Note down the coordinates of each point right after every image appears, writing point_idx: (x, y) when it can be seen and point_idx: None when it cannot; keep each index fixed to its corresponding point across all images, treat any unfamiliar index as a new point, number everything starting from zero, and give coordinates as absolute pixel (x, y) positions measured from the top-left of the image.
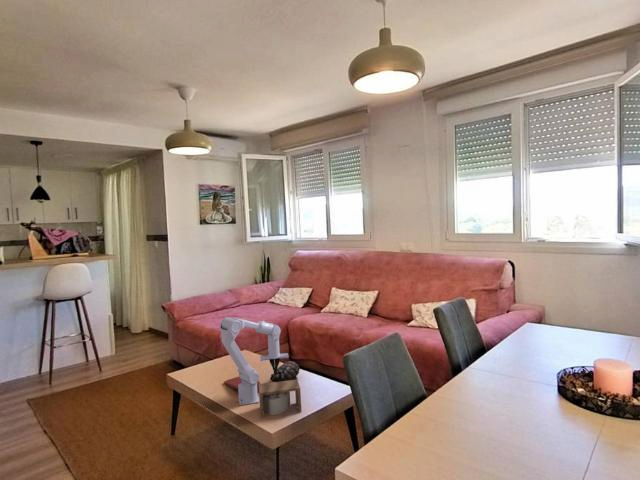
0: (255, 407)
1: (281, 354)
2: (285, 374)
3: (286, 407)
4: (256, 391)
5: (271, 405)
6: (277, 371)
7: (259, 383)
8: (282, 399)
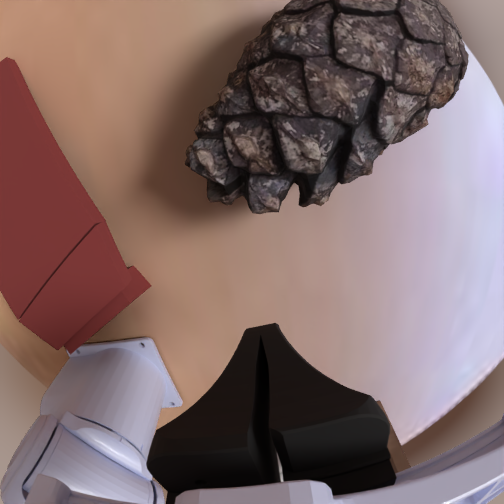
0: None
1: (471, 478)
2: (354, 177)
3: None
4: (156, 424)
5: None
6: (265, 139)
7: (118, 281)
8: None
